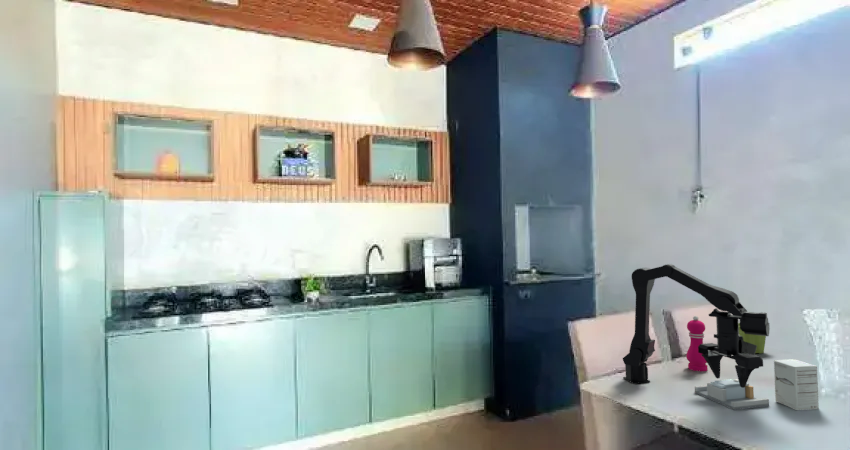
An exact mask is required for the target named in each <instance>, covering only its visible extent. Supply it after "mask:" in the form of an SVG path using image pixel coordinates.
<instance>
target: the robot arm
mask: <svg viewBox="0 0 850 450" xmlns="http://www.w3.org/2000/svg"><path fill="white" fill-rule="evenodd" d="M665 277H666V278H669V279H671V280H672V281H675V282H676V283H678V284H679V285H682V286H684V287H685V288H687V289H690V290H691V291H693V292H695V293H697V294H699V295H700V296H702V297H703V298H704V299H705V300H706V301H707V302H708V303H709V304H711V305H712V306H713V307H715V308H714V309H713V310H712V312H710V313H708V317H713V318H716V319H715V320H716V321H715V323H716V333H715V334H714V333H713V338H714V339H716V342H717V343H713V342H709V343H708V342H707V343H703V344H700V345H699V347H698V353H701V355H702V356H703V357H704V359H705V360H706V362H707V363H706V364H707V366H709V368H710V370H711V372H712V374H713V375H714V377H715V379H720V377H721V362H722V359H723V358H724V357H725V358H729V359H730V360H734V362H735V363H736V364H735V365H734V368H735V371H736V376H737V379H738V380H739V384H740V386H741V387H742V388H744V387H745V386H746V383H748V381H749V379H750V376H751V374H752V372H753V371H754V370H755V369H760V368H761V367H764V359H763V358H762V357H761V356H759V355H756V353H755V352H756V348H757V345H754V344H751V343H748V342H745V341H743V337H742V336H739V324H738V323H740V329H741V330H742V331H743V332H744V333H745V334H751V335H760V336H766V337H769V336H770V329H771V328H770V322H769V318H768V312H762V311H761V312H754V311H748V309H746V307H744V306H743V305H742V303H741V302H740V298H739V295H738V294H737V293H735V292H734V291H732V290H730V289H725V288H723V287H721V286H716V285H713V284H709V283H707V282H706V281H704V280H702V279H700V278H698V277H696V276H694V275H692V274H690V273H688V272H687V271H684V270H682V269H680V268H678V266H675V265H674V264H672V263H667V264H663V265H661V266H657V267H653V268H650V267H642V268H641V267H640V268H637V269H634V271H633V272H632V273H631V282H632V287H633V290H634V293H635V307H634V308H635V311H634V312H635V315H634V317H635V318H634V334H633V337H632V340H631V343H630V346H629V351H628V353H627V354H625V356H624V357H622V360H623V363H624V365H625V366H624V369H625V376H623V377H622V379H624V380H626V381H627V382H630V383H631V384H635V385H637V384H646V383H651V380H650V379H649V369H648V367H647V363H646V362H647V361H648V359H650V358H651V357H652V355H653V353H654V352H655V351H656V349H655V343H656V340H655V339H651V337H650V310H651V309H650V307H651V303H650V301H651V293H652V291H653V289H654V285H655V281H656V280H657V279H661V278H665Z"/></svg>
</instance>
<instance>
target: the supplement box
mask: <svg viewBox="0 0 850 450" xmlns="http://www.w3.org/2000/svg"><path fill="white" fill-rule="evenodd" d="M773 364H774V365H773V368H774V391H775V392H774V396H775V399H774V400H775V402H777V403H778V404H782V405H783V406H786V407H789V408H791V409H793V410H795V411H806V410H807V411H810V410H811V411H812V410H820V409H819V407H820V406H819V383H818V379H819V378H818V366H817V365H816V364H815V365H814V364H811V363H807V362H805V361H802V360H798V359H795V358H791V359H789V358H787V359H776V360H774V361H773Z"/></svg>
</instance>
